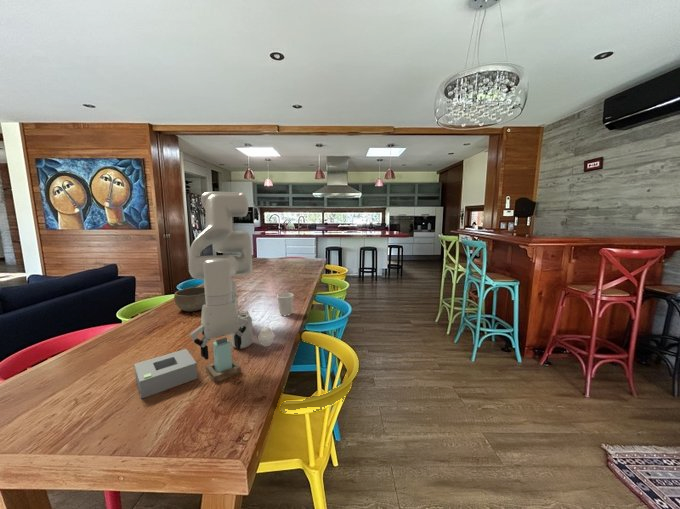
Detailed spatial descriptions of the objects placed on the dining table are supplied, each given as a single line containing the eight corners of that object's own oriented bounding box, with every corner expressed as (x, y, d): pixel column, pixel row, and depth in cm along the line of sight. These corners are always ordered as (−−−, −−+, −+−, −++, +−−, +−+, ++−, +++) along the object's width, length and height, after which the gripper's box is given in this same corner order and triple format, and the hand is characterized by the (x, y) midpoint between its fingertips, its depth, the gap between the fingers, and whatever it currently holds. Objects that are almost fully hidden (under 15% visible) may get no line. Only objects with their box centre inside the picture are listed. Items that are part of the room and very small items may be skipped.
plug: (227, 367, 88) (225, 335, 87) (232, 372, 86) (230, 339, 84) (214, 372, 86) (212, 339, 84) (219, 377, 83) (217, 343, 81)
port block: (187, 362, 91) (186, 347, 90) (197, 378, 82) (196, 361, 82) (135, 379, 82) (134, 362, 81) (141, 398, 73) (139, 380, 72)
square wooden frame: (231, 362, 91) (231, 357, 91) (241, 372, 85) (240, 366, 85) (206, 371, 86) (205, 365, 86) (214, 383, 80) (214, 376, 80)
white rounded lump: (276, 346, 103) (276, 328, 102) (260, 350, 100) (260, 332, 99) (272, 339, 108) (271, 323, 107) (256, 343, 105) (255, 326, 104)
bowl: (202, 314, 136) (201, 295, 135) (167, 314, 137) (165, 295, 135) (218, 303, 153) (217, 286, 152) (187, 303, 154) (185, 286, 152)
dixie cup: (287, 310, 143) (287, 291, 142) (297, 314, 137) (297, 294, 136) (274, 314, 137) (273, 295, 136) (283, 318, 131) (282, 298, 130)
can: (256, 342, 106) (255, 312, 105) (244, 351, 99) (242, 319, 98) (240, 339, 109) (239, 310, 107) (227, 347, 102) (225, 317, 100)
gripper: (241, 291, 91) (244, 340, 93) (184, 302, 79) (188, 357, 81) (251, 296, 85) (253, 347, 87) (190, 308, 74) (195, 367, 76)
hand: (222, 352), depth 84 cm, fingers open, 9 cm apart
